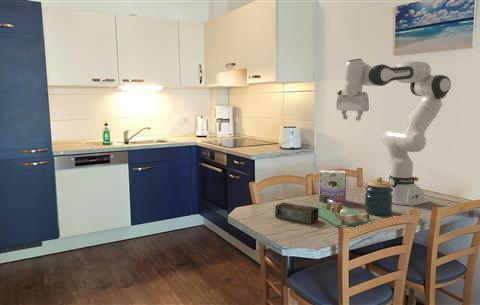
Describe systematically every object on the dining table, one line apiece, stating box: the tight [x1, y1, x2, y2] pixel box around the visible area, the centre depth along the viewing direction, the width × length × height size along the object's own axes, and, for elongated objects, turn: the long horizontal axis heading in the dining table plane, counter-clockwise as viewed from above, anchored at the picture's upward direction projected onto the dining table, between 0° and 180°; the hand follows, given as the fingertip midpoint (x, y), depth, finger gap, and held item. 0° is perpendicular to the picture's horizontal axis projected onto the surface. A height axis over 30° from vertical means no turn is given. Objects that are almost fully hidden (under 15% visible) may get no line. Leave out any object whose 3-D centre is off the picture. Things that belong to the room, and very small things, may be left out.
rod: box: [318, 195, 344, 213], centre depth 198 cm, size 17×3×5 cm, turn 18°
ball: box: [340, 209, 348, 216], centre depth 187 cm, size 4×4×4 cm
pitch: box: [309, 203, 376, 228], centre depth 191 cm, size 20×30×3 cm, turn 18°
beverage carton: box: [274, 202, 319, 225], centre depth 187 cm, size 8×19×7 cm, turn 56°
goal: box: [335, 209, 370, 224], centre depth 181 cm, size 14×6×4 cm, turn 108°
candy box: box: [318, 169, 347, 203], centre depth 218 cm, size 14×6×16 cm, turn 80°
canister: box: [363, 176, 393, 217], centre depth 196 cm, size 13×13×18 cm
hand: (351, 119), depth 201 cm, fingers open, 8 cm apart
